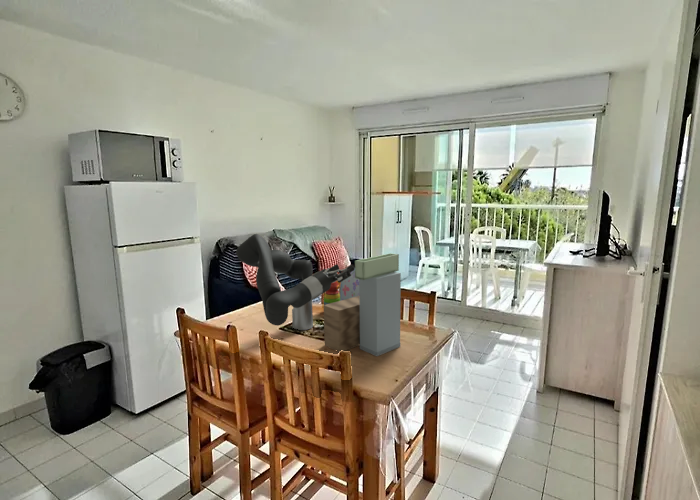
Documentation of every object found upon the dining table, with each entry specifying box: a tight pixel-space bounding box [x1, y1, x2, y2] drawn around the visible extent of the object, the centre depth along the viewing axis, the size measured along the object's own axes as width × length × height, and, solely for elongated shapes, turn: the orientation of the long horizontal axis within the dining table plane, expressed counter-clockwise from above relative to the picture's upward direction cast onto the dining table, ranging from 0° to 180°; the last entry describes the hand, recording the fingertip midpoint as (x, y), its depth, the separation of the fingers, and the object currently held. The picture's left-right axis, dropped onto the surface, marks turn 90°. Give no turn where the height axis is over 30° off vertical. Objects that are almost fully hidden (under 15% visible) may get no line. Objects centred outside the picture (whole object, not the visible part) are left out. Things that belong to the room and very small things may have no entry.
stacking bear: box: [323, 281, 340, 306], centre depth 208 cm, size 11×10×18 cm
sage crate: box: [354, 252, 400, 280], centre depth 156 cm, size 22×4×7 cm, turn 136°
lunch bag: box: [339, 270, 359, 301], centre depth 192 cm, size 22×17×26 cm
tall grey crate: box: [359, 271, 402, 357], centre depth 160 cm, size 14×10×32 cm
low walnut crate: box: [323, 296, 360, 353], centre depth 168 cm, size 23×10×18 cm, turn 131°
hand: (345, 266), depth 144 cm, fingers open, 8 cm apart
